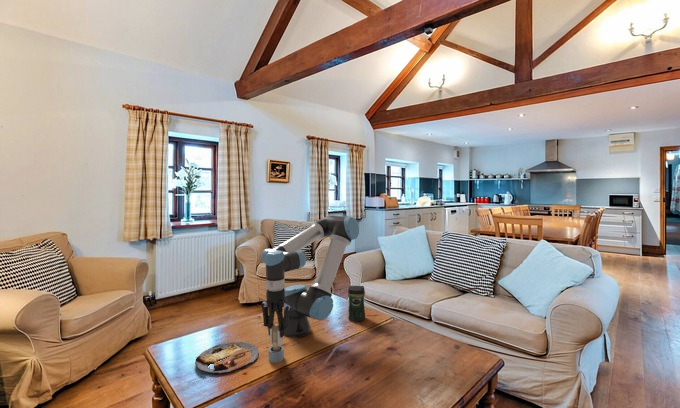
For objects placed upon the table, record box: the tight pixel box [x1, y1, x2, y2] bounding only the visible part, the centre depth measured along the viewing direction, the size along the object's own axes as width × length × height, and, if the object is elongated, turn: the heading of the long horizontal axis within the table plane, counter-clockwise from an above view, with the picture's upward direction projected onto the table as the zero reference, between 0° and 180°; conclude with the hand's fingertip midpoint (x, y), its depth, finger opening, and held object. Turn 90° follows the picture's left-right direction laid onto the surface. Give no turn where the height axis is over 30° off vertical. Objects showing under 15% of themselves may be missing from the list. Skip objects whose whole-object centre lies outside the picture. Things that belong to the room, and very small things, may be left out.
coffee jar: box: [347, 285, 366, 322], centre depth 174 cm, size 10×8×19 cm
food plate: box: [194, 341, 259, 375], centre depth 133 cm, size 25×23×4 cm
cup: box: [268, 344, 285, 364], centre depth 132 cm, size 6×6×5 cm
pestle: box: [272, 323, 280, 352], centre depth 132 cm, size 3×3×13 cm
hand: (276, 343), depth 132 cm, fingers closed on pestle, 3 cm apart
